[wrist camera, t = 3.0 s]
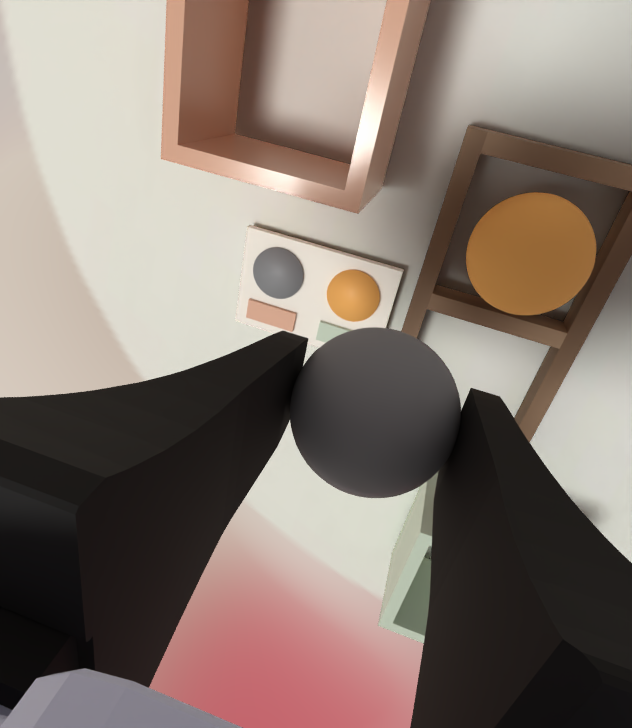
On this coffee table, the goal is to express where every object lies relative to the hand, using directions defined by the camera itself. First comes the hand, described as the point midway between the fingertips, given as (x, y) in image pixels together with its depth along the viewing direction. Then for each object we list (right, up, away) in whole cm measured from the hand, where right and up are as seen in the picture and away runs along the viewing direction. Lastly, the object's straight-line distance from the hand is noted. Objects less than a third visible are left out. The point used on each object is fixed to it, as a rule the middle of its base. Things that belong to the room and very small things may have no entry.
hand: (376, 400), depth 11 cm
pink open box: (-1, +10, +5) cm, 11 cm away
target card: (-1, +3, +9) cm, 9 cm away
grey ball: (0, 0, 0) cm, 0 cm away
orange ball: (+5, +4, +4) cm, 8 cm away
